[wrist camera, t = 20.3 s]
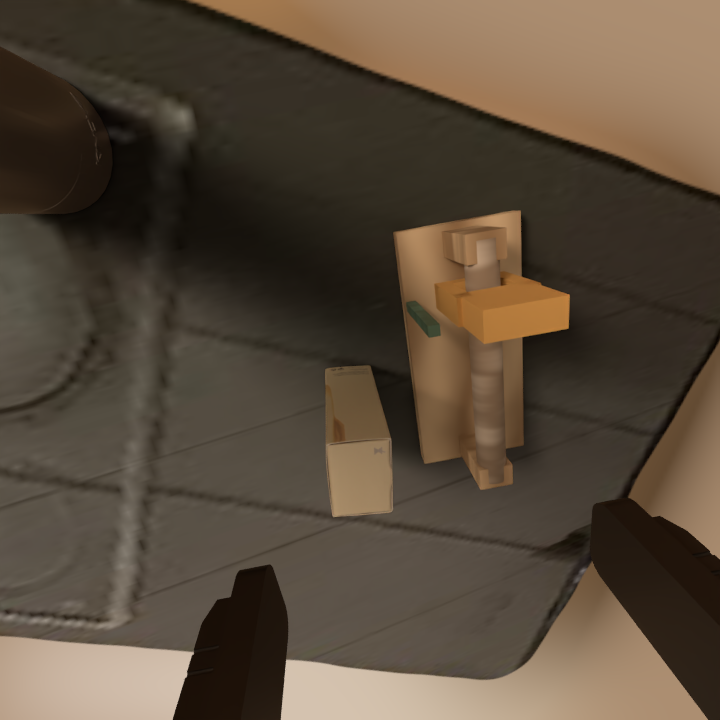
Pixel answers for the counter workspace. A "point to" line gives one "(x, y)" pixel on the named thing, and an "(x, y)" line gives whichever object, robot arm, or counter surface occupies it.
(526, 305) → the orange block
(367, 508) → the skincare box
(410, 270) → the pipe rig
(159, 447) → the counter surface
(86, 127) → the robot arm
